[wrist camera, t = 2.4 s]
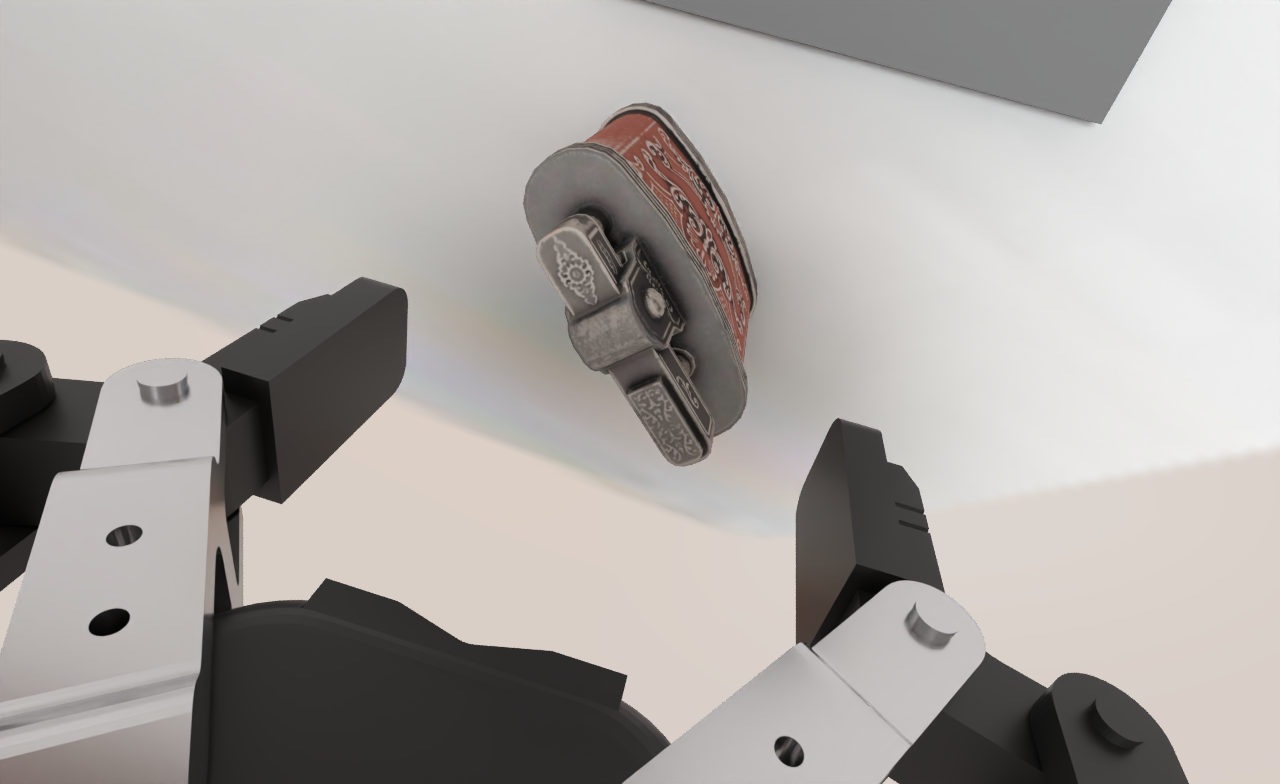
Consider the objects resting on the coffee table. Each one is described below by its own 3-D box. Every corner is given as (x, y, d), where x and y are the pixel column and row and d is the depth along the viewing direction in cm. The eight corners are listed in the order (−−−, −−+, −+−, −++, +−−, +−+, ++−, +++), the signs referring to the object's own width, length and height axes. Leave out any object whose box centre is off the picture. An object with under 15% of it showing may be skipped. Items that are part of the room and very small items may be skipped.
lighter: (577, 136, 22) (442, 224, 13) (666, 80, 20) (581, 137, 12) (693, 338, 24) (644, 517, 16) (778, 300, 23) (774, 474, 15)
